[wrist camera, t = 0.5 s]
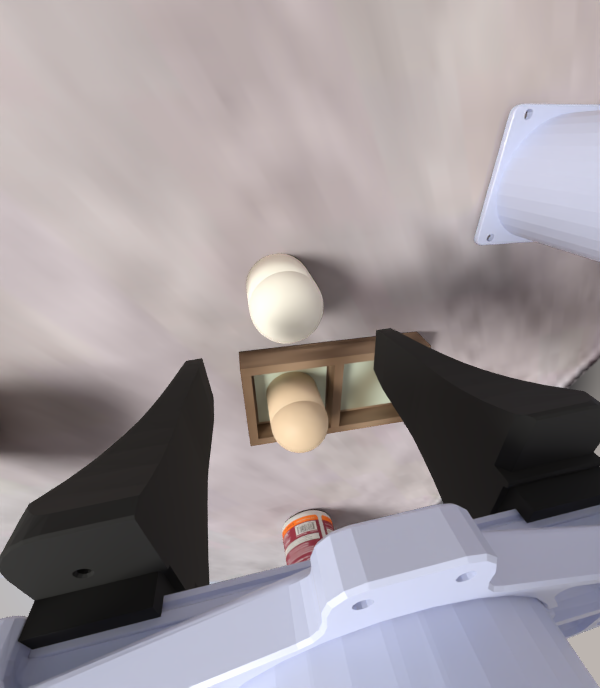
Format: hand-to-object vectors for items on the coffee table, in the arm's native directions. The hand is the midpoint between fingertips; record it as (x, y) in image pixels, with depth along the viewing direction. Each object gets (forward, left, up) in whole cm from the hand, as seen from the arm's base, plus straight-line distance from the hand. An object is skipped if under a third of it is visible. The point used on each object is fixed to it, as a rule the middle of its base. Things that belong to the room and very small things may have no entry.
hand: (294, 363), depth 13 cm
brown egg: (-1, +10, -9) cm, 13 cm away
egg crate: (-5, +10, -10) cm, 14 cm away
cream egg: (-1, +1, -10) cm, 10 cm away
